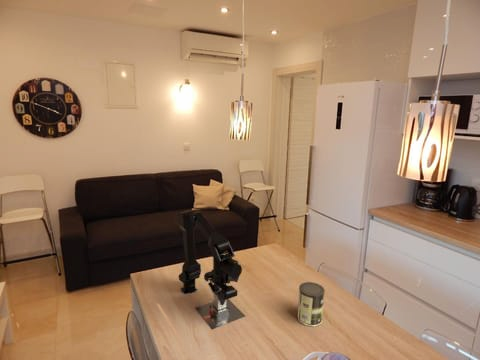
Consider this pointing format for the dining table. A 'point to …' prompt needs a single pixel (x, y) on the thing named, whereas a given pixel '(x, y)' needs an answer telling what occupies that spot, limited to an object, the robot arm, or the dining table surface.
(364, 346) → the dining table surface
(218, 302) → the post
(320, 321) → the coffee can
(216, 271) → the robot arm
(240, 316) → the stand base
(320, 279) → the dining table surface
